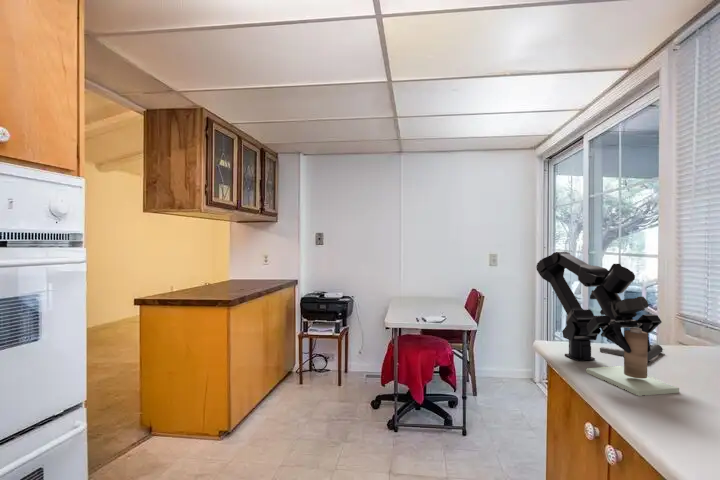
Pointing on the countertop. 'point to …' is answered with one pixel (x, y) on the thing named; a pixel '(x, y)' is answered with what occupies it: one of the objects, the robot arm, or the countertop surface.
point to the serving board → (632, 381)
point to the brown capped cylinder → (636, 353)
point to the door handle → (651, 356)
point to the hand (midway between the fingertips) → (639, 351)
